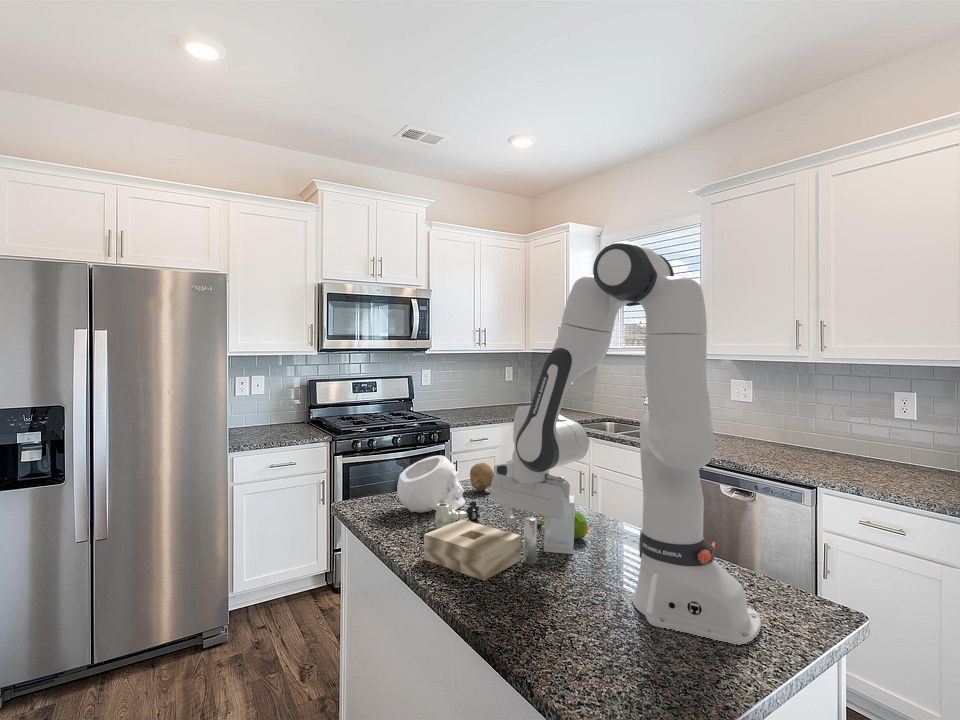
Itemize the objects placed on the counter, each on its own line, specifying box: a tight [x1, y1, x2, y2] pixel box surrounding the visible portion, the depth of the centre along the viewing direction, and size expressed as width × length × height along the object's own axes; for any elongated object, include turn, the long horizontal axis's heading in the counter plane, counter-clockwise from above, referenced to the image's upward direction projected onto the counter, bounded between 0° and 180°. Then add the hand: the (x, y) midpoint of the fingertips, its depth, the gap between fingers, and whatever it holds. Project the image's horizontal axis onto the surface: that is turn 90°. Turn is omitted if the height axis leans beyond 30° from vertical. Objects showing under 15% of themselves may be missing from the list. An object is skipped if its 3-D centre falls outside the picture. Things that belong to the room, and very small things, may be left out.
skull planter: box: [396, 454, 466, 514], centre depth 162 cm, size 14×20×19 cm
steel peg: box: [523, 516, 538, 565], centre depth 123 cm, size 3×3×10 cm
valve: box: [434, 501, 481, 530], centre depth 146 cm, size 7×7×12 cm
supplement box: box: [543, 494, 576, 555], centre depth 131 cm, size 7×7×13 cm
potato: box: [469, 462, 496, 492], centre depth 183 cm, size 9×9×10 cm
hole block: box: [423, 519, 522, 582], centre depth 123 cm, size 18×14×6 cm
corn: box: [537, 510, 590, 540], centre depth 143 cm, size 7×8×20 cm
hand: (527, 528), depth 123 cm, fingers open, 8 cm apart
